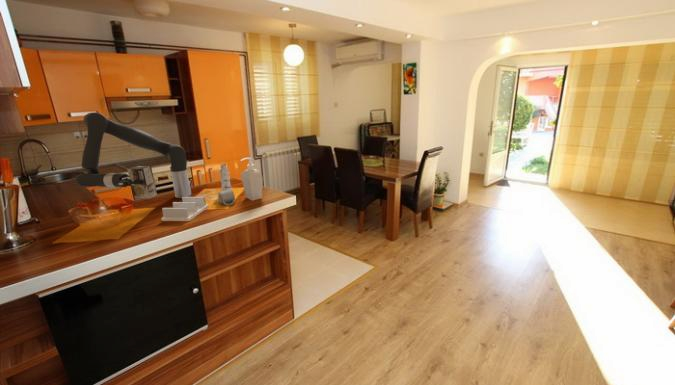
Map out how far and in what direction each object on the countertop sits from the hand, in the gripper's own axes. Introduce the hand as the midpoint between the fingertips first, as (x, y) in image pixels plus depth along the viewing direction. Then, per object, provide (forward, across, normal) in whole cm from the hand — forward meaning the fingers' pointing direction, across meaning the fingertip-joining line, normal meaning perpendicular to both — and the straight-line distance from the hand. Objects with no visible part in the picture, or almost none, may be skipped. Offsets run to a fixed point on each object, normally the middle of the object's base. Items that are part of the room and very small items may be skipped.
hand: (146, 180), depth 161 cm
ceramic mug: (+32, +22, +21) cm, 44 cm away
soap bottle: (+44, +32, +21) cm, 58 cm away
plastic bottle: (+24, +40, +21) cm, 51 cm away
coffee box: (-2, 0, +9) cm, 9 cm away
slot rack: (+16, +4, +20) cm, 26 cm away
